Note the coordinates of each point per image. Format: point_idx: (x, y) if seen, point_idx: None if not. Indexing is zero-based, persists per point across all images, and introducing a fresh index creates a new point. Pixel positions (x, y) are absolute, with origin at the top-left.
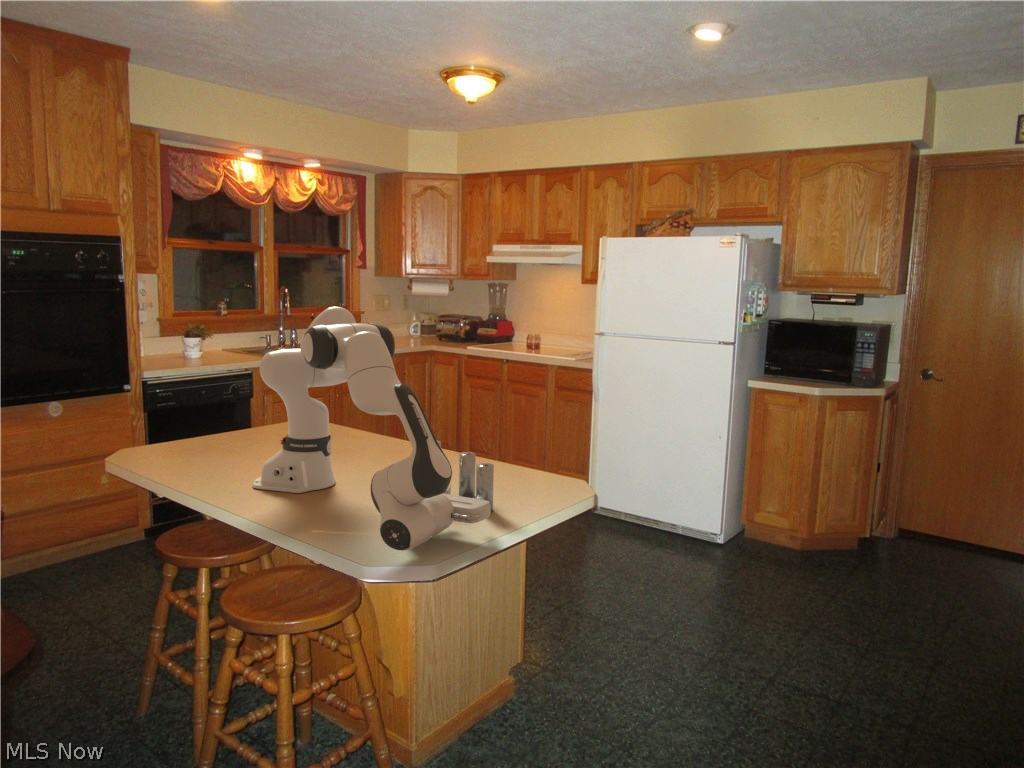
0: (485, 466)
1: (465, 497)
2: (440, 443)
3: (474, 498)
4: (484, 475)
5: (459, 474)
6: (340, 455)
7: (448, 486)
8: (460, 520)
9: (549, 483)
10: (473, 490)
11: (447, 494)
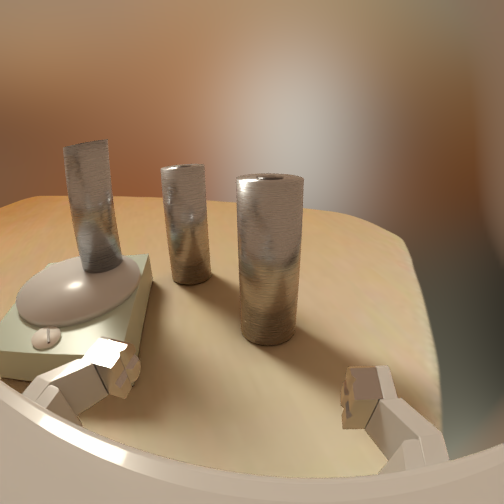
0: (278, 180)
1: (355, 501)
2: (105, 141)
3: (354, 405)
4: (280, 217)
5: (167, 224)
6: (24, 222)
7: (143, 258)
8: None
9: (317, 220)
10: (207, 259)
11: (128, 470)
